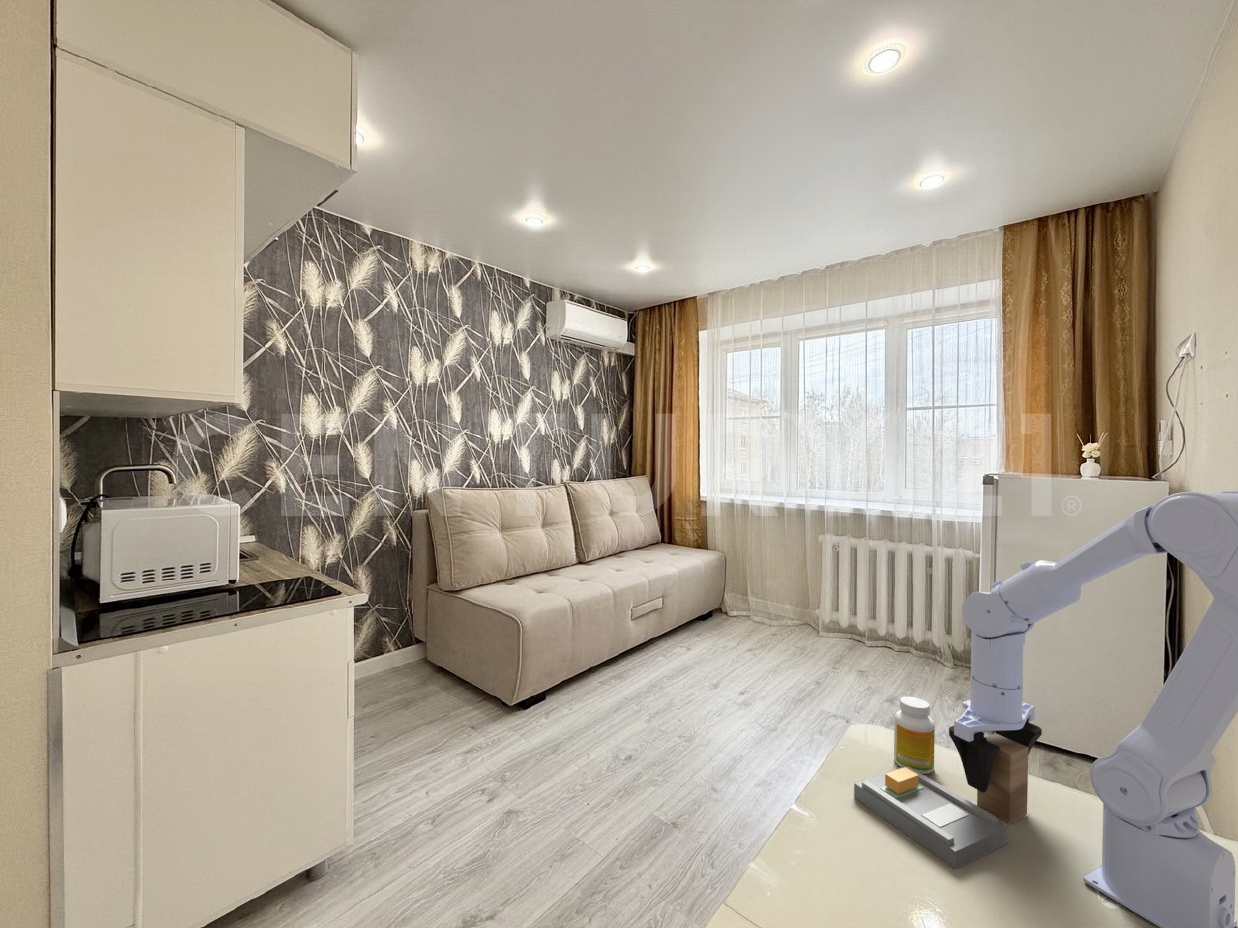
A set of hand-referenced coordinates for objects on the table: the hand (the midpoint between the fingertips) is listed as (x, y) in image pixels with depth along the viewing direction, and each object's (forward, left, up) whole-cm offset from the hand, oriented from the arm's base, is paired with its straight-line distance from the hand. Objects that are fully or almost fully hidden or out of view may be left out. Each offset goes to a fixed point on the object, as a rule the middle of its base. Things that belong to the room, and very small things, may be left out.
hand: (994, 780), depth 72 cm
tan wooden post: (-1, 0, -3) cm, 4 cm away
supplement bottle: (+11, +1, -4) cm, 12 cm away
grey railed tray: (+2, +11, -3) cm, 12 cm away
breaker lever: (+6, +11, -1) cm, 12 cm away
